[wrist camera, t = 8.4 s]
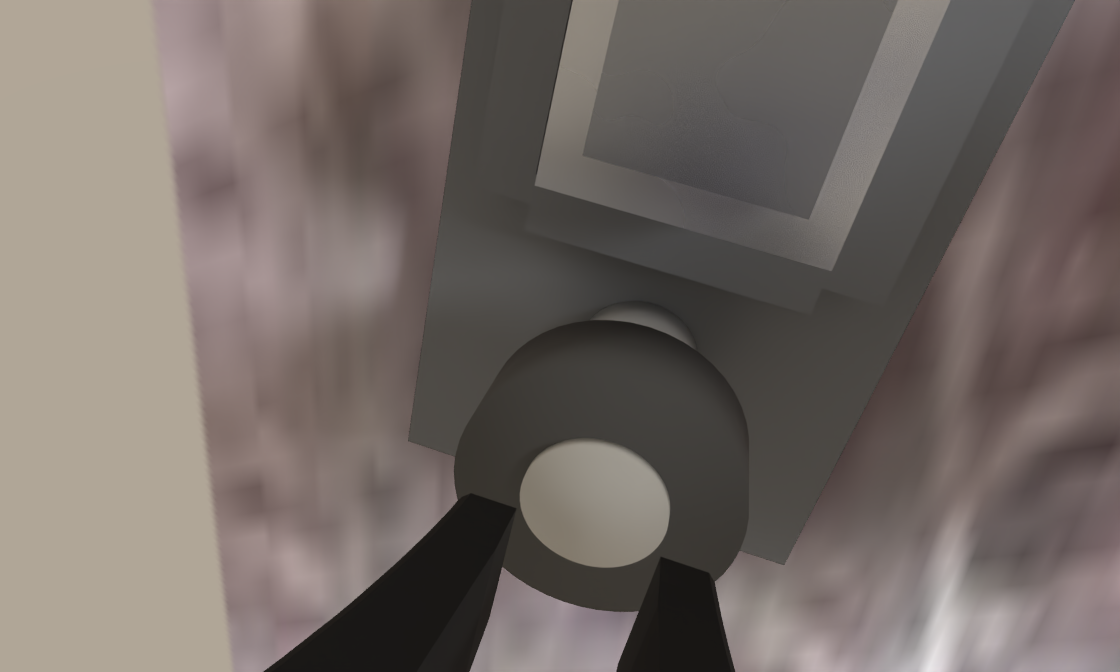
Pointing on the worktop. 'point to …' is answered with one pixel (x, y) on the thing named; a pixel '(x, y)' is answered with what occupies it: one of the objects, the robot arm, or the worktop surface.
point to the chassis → (709, 250)
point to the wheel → (610, 461)
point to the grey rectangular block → (734, 112)
